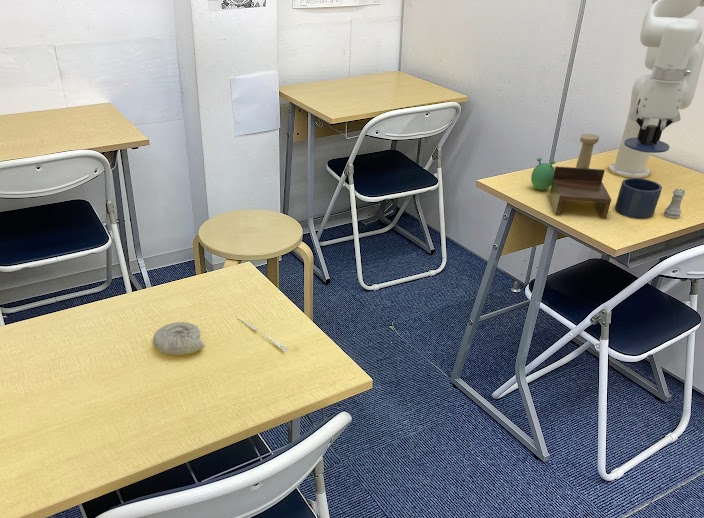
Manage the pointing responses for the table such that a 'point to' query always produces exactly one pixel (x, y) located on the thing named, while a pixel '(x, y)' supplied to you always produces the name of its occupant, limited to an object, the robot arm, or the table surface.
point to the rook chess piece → (675, 205)
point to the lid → (647, 142)
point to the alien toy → (543, 175)
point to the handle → (586, 150)
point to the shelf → (579, 188)
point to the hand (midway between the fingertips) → (647, 142)
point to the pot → (638, 198)
